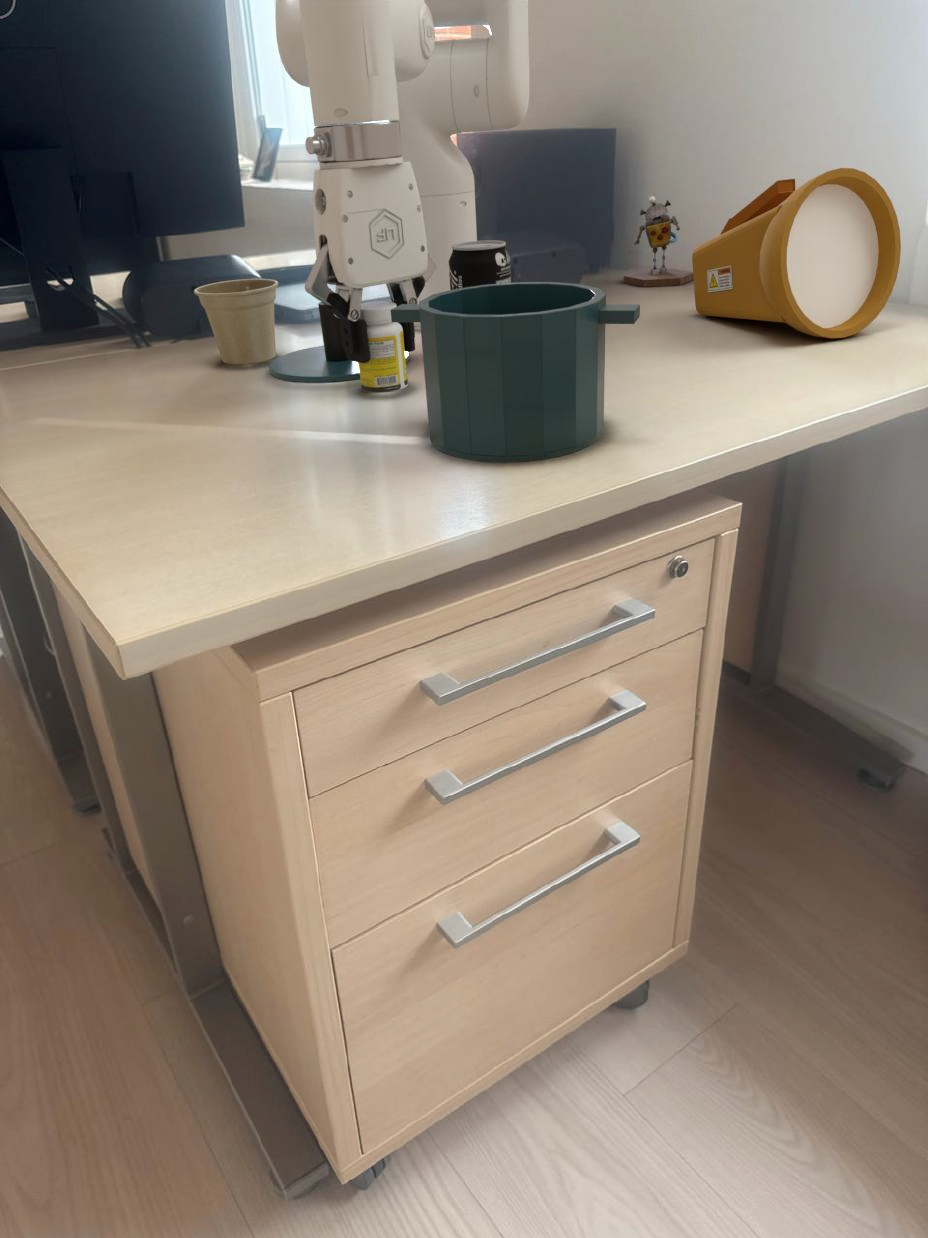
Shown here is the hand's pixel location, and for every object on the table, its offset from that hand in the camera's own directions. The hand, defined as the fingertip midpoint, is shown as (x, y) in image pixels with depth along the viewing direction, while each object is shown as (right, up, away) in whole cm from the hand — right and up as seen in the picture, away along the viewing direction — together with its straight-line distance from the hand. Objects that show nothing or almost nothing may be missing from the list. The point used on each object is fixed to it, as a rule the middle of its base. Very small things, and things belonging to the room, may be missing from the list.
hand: (381, 353), depth 87 cm
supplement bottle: (0, -3, +2) cm, 4 cm away
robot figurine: (+39, +26, +49) cm, 68 cm away
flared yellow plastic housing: (+45, +9, +18) cm, 50 cm away
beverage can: (+11, +3, +11) cm, 16 cm away
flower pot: (-17, +4, +17) cm, 25 cm away
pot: (+13, -11, -12) cm, 21 cm away
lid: (-6, +2, +11) cm, 12 cm away
